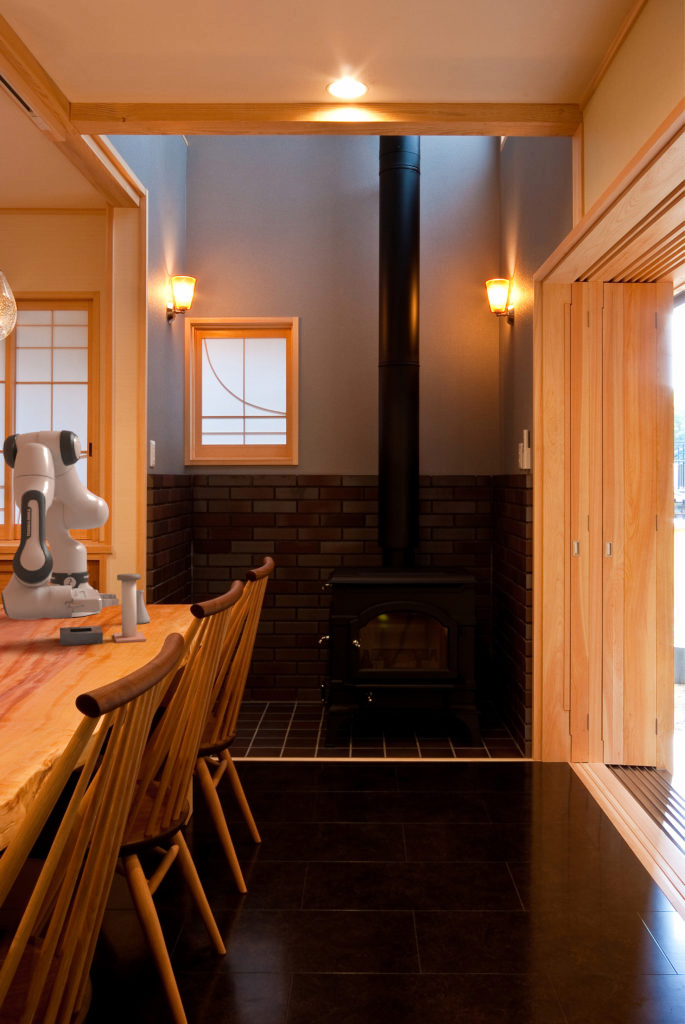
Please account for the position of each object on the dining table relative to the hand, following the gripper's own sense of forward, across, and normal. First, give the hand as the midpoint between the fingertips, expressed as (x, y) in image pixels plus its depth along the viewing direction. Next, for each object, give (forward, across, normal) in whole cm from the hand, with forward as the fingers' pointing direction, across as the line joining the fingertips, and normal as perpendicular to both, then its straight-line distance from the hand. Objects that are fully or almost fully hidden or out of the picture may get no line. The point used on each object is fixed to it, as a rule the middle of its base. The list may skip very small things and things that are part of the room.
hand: (117, 599), depth 242 cm
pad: (+3, 0, +11) cm, 12 cm away
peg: (+3, 0, +10) cm, 11 cm away
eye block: (-10, 0, +11) cm, 15 cm away
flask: (+8, +26, +11) cm, 30 cm away
